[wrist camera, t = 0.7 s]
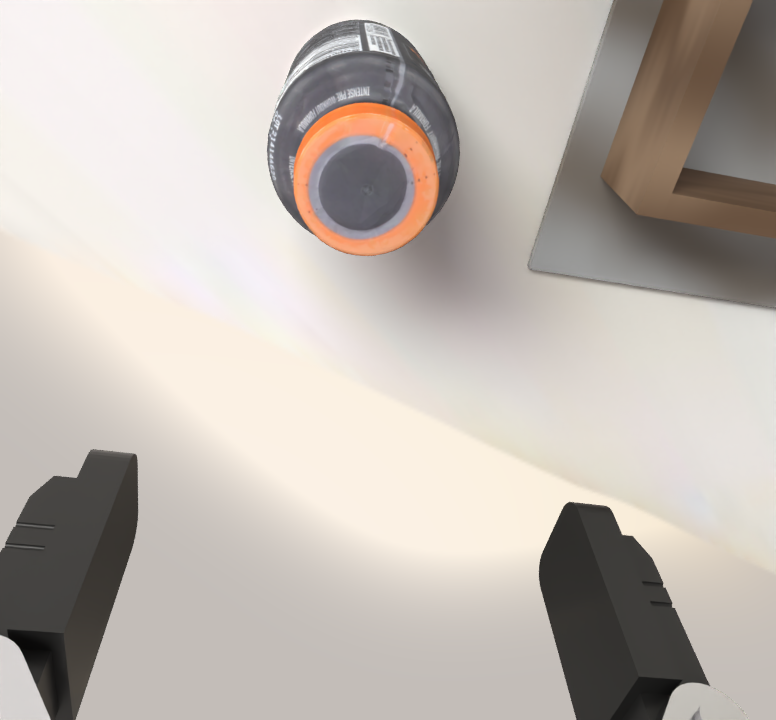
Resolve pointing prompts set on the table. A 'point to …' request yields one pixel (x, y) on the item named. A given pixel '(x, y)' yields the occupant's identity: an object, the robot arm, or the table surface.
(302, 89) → the pill bottle
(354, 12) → the table surface
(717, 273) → the well
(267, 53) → the table surface
